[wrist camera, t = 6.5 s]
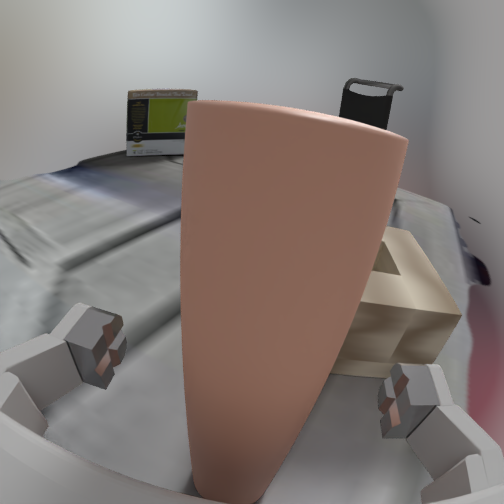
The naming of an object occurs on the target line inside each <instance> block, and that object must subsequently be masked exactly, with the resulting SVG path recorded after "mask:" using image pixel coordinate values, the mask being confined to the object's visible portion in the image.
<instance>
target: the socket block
mask: <svg viewBox="0 0 504 504" xmlns="http://www.w3.org/2000/svg"><path fill="white" fill-rule="evenodd" d="M461 316H462V314H461V312H460V310H459V308H458V307H457V305H456V303H455V301H454V300H453V298H452V296H451V295H450V293H449V291H448V290H447V288H446V286H445V285H444V283H443V281H442V280H441V278H440V277H439V275H438V273H437V272H436V270H435V269H434V267H433V265H432V264H431V262H430V261H429V259H428V258H427V256H426V255H425V253H424V252H423V250H422V249H421V247H420V246H419V244H418V243H417V241H416V240H415V239H414V237H413V236H412V234H411V233H410V231H406V230H402V229H397V228H393V227H388V226H386V228H385V232H384V235H383V238H382V241H381V244H380V247H379V250H378V253H377V256H376V259H375V262H374V265H373V268H372V271H371V274H370V276H369V279H368V282H367V285H366V287H365V290H364V293H363V295H362V298H361V301H360V303H359V306H358V308H357V311H356V313H355V316H354V318H353V321H352V323H351V326H350V328H349V331H348V333H347V335H346V338H345V340H344V342H343V345H342V347H341V349H340V352H339V354H338V356H337V358H336V361H335V363H334V365H333V367H332V369H331V372H330V373H332V374H341V375H352V376H363V377H376V378H389V377H390V376H391V374H390V370H391V368H392V367H393V365H395V364H396V363H412V364H433V362H434V361H435V359H436V357H437V356H438V354H439V353H440V351H441V350H442V348H443V347H444V345H445V343H446V342H447V340H448V338H449V337H450V335H451V334H452V332H453V330H454V328H455V327H456V325H457V323H458V322H459V320H460V318H461Z"/></svg>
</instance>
